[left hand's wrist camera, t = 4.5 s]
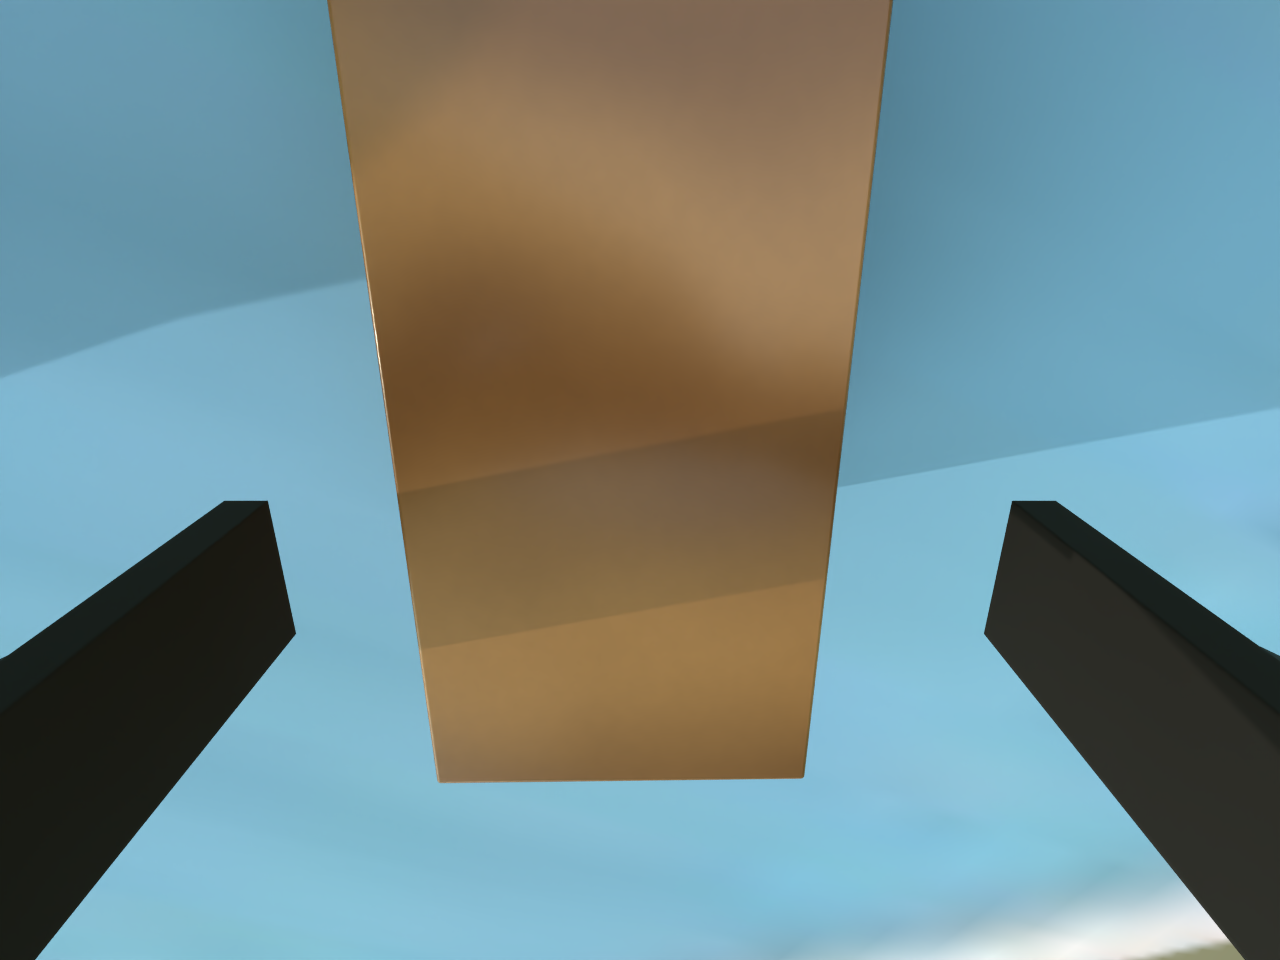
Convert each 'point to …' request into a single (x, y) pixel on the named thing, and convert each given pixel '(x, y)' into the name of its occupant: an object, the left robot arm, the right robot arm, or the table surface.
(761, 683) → the box
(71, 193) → the table surface
